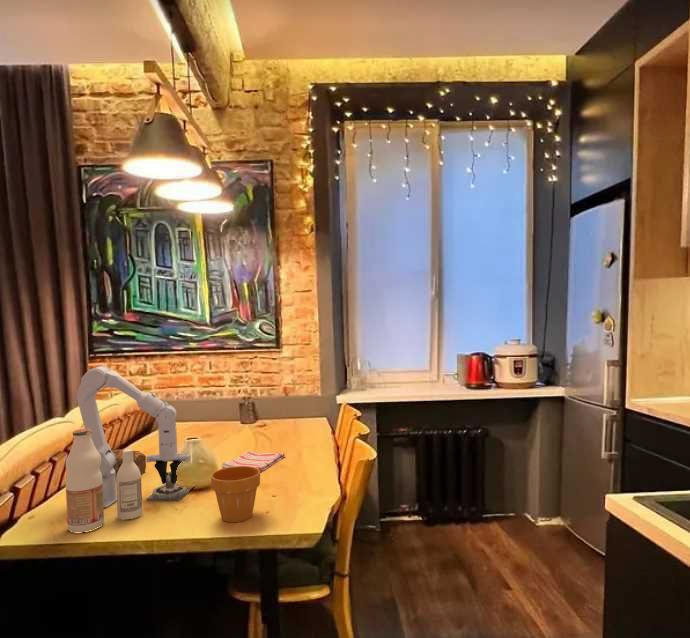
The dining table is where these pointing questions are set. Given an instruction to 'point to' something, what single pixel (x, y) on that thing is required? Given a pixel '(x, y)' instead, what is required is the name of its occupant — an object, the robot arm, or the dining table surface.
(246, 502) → the flower pot
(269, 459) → the dish towel
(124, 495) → the bath foam
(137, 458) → the bread
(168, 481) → the planet gear
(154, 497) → the carrier plate
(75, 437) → the fruit juice
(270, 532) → the dining table surface
